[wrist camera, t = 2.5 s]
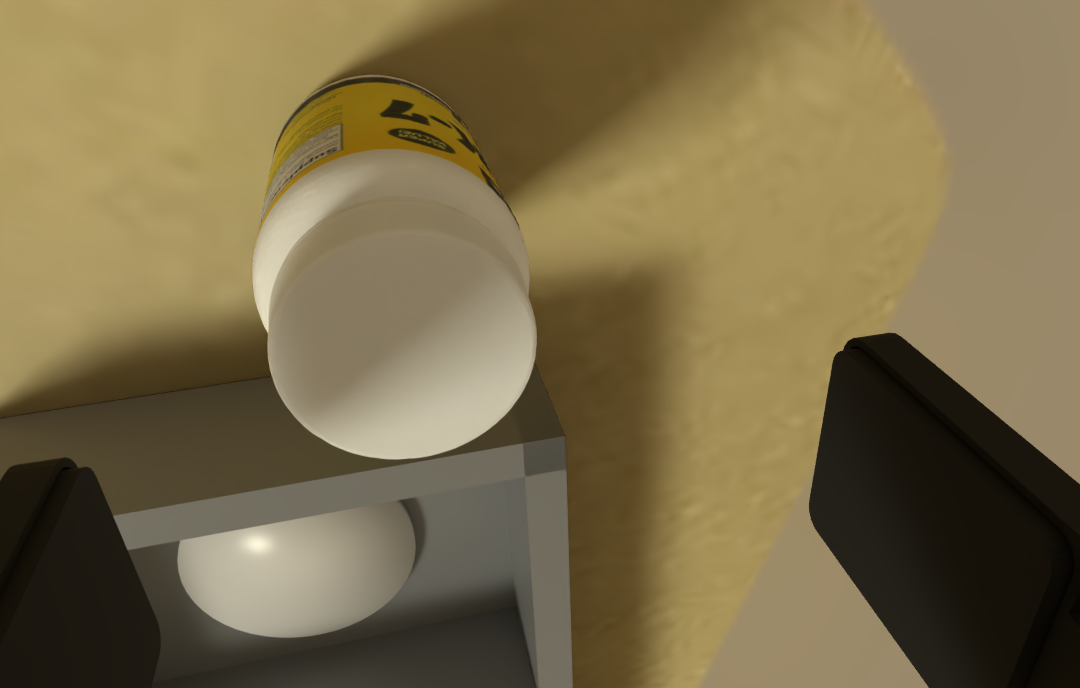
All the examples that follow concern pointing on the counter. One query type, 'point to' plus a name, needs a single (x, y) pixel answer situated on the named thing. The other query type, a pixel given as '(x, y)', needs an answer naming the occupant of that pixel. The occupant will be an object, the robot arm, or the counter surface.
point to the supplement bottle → (390, 274)
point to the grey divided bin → (329, 542)
